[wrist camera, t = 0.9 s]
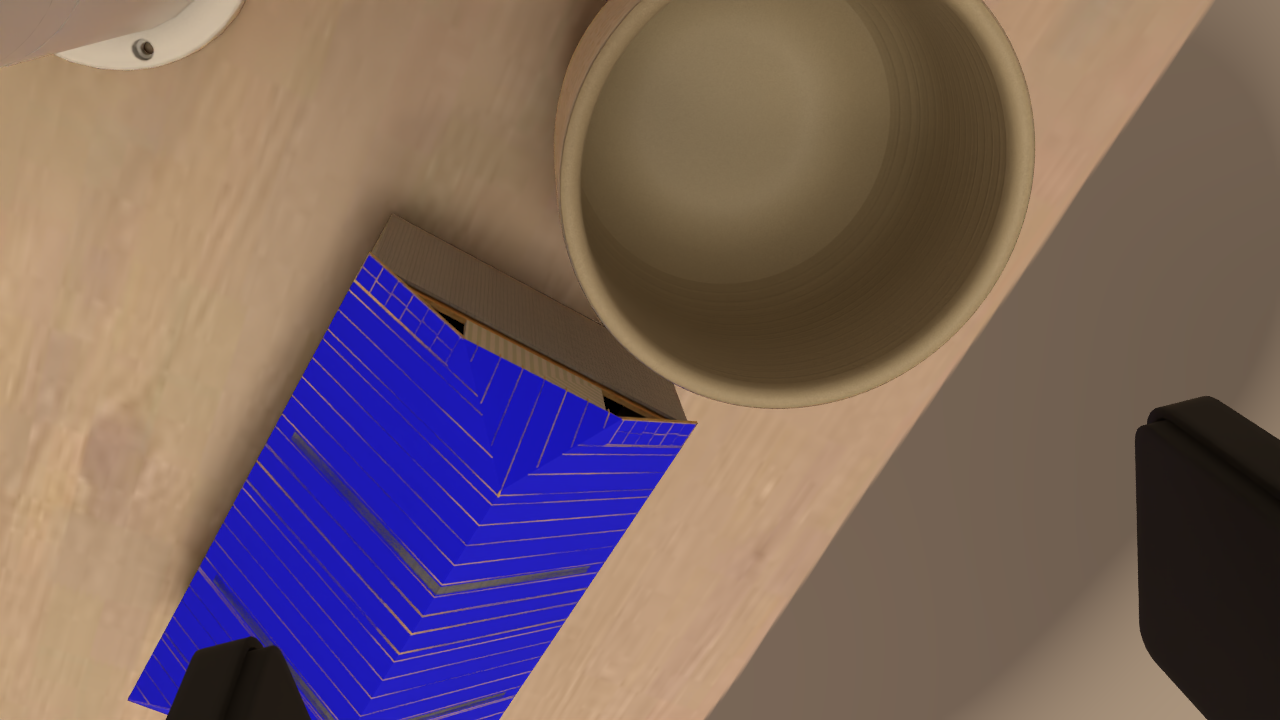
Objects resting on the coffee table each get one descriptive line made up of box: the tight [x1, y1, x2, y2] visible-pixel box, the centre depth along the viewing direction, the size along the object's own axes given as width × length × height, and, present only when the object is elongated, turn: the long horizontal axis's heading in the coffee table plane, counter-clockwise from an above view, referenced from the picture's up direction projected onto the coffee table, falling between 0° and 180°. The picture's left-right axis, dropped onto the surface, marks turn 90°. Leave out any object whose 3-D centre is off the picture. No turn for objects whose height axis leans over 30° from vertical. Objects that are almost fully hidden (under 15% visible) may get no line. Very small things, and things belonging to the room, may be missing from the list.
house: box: [128, 214, 698, 720], centre depth 49 cm, size 25×16×16 cm, turn 148°
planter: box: [554, 0, 1035, 409], centre depth 44 cm, size 17×17×15 cm
